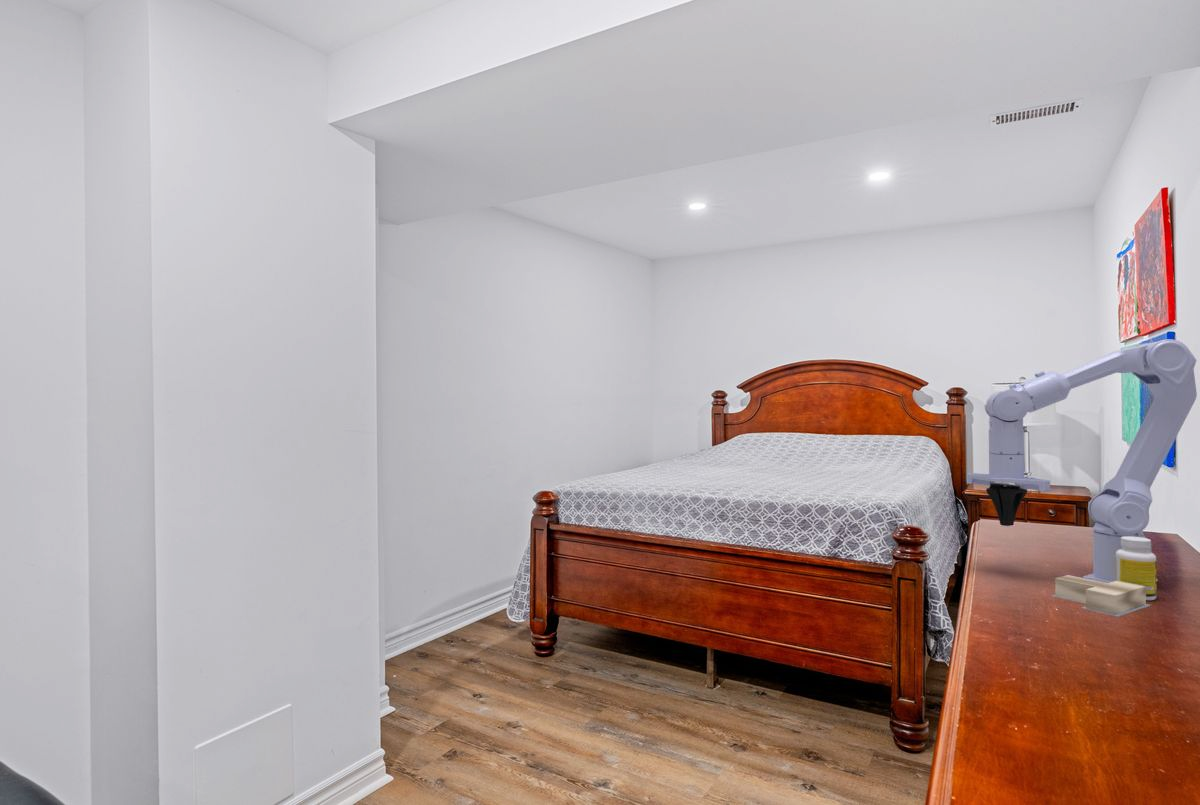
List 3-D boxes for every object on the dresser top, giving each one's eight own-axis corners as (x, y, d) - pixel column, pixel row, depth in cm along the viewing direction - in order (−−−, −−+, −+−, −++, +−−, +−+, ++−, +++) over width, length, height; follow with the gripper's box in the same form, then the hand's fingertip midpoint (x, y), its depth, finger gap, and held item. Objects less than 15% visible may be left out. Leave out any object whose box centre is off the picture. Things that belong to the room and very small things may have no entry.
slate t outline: (1075, 590, 118) (1075, 588, 118) (1151, 606, 108) (1151, 605, 108) (1041, 600, 112) (1041, 598, 112) (1117, 618, 103) (1117, 616, 103)
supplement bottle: (1164, 602, 109) (1164, 542, 109) (1126, 600, 111) (1126, 541, 111) (1144, 592, 115) (1144, 535, 115) (1108, 591, 116) (1108, 534, 116)
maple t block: (1077, 589, 117) (1076, 572, 117) (1145, 604, 108) (1145, 586, 108) (1045, 598, 112) (1045, 580, 112) (1114, 615, 103) (1114, 595, 103)
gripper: (957, 452, 132) (957, 521, 132) (1034, 457, 119) (1035, 533, 119) (978, 450, 135) (978, 517, 135) (1056, 455, 122) (1056, 529, 122)
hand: (1006, 525), depth 127 cm, fingers closed
